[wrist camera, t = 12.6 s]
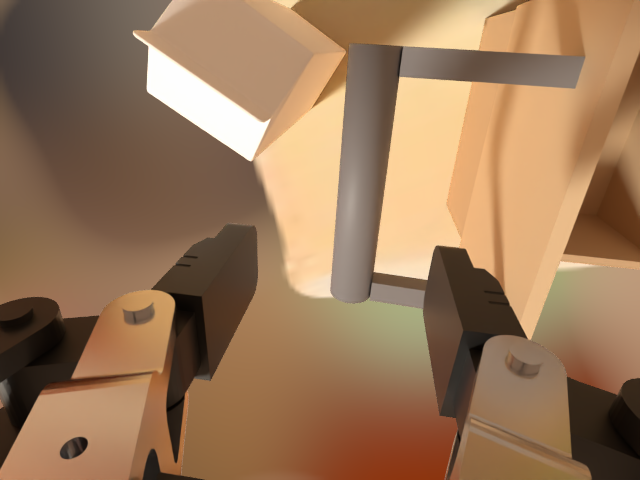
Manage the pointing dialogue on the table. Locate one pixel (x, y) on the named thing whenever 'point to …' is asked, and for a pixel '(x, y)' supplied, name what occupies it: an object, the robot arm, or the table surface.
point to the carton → (605, 186)
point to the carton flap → (493, 146)
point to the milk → (238, 68)
